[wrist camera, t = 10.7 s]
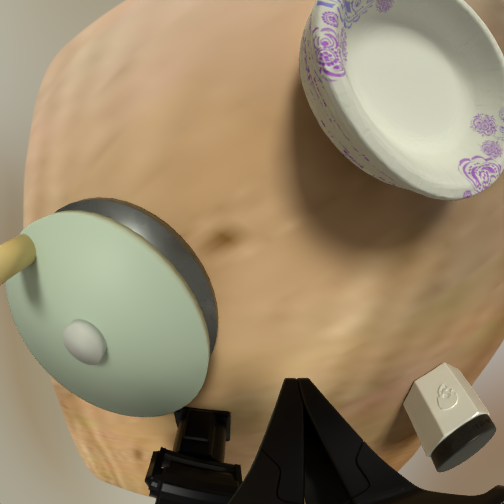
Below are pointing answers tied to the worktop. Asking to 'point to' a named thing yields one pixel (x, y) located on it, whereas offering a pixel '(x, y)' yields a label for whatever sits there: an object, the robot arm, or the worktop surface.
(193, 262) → the grey metal shallow dish
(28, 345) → the handwheel
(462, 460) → the jar
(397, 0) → the paper bowls
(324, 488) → the robot arm
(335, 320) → the worktop surface
